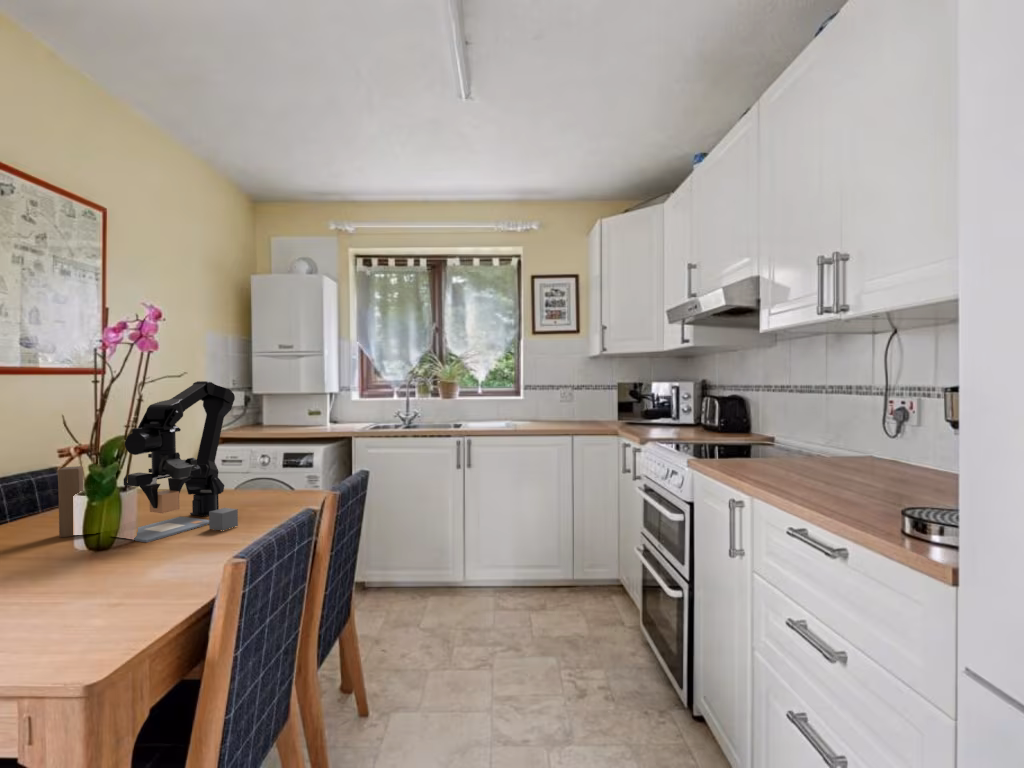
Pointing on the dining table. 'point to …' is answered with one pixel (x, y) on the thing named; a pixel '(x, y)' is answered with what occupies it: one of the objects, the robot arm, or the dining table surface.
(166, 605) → the dining table surface
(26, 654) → the dining table surface
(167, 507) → the terracotta cube
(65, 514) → the wooden block
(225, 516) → the charcoal cube
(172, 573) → the dining table surface
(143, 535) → the board
